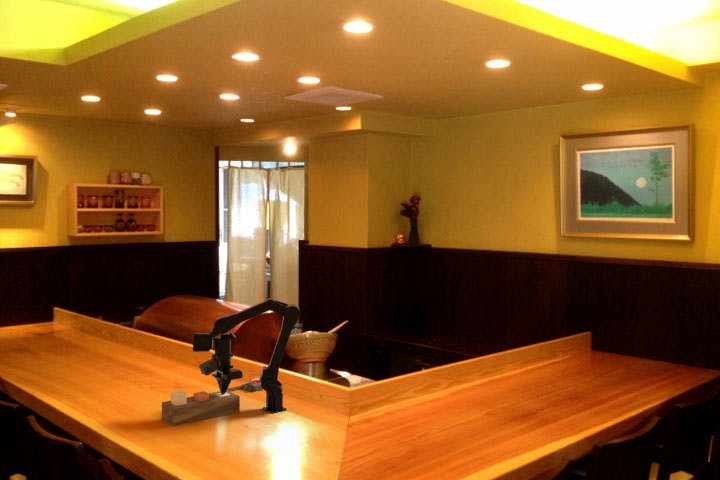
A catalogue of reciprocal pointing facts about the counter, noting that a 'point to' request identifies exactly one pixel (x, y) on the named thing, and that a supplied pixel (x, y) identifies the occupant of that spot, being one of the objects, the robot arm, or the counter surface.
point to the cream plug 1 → (178, 397)
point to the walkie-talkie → (249, 385)
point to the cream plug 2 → (222, 395)
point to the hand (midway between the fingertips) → (223, 394)
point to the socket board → (200, 409)
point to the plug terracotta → (201, 396)
